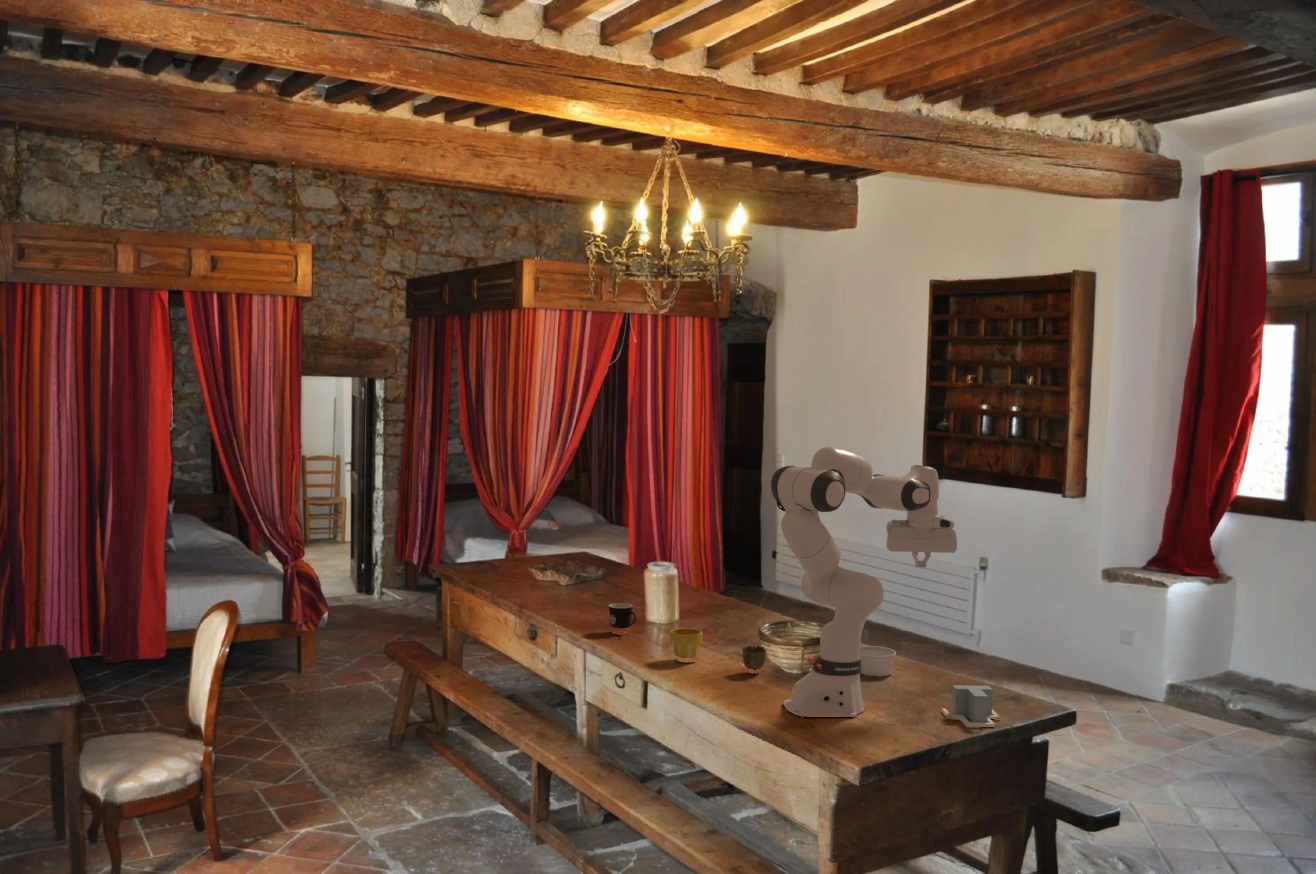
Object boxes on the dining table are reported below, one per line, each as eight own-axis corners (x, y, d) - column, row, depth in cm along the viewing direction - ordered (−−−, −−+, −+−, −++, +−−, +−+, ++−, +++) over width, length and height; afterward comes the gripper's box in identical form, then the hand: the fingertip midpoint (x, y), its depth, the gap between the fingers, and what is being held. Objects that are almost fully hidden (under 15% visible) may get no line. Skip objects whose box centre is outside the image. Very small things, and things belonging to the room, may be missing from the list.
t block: (961, 725, 287) (962, 695, 286) (951, 713, 297) (952, 685, 296) (999, 726, 287) (1000, 696, 286) (987, 714, 297) (988, 685, 296)
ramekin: (863, 679, 330) (864, 657, 330) (845, 668, 343) (845, 646, 342) (902, 677, 334) (903, 654, 333) (882, 666, 346) (883, 644, 346)
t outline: (954, 726, 285) (954, 723, 285) (941, 711, 298) (941, 708, 298) (1007, 728, 285) (1007, 724, 285) (992, 712, 298) (992, 709, 298)
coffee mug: (605, 631, 387) (605, 603, 386) (628, 630, 389) (629, 602, 389) (613, 638, 375) (614, 610, 375) (637, 637, 378) (638, 609, 378)
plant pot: (665, 658, 351) (666, 628, 350) (695, 656, 354) (696, 626, 353) (675, 666, 341) (676, 635, 340) (706, 664, 344) (707, 633, 344)
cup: (737, 671, 336) (738, 646, 336) (759, 669, 339) (759, 644, 338) (748, 677, 329) (748, 651, 329) (769, 675, 332) (770, 650, 331)
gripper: (889, 520, 313) (887, 567, 314) (959, 522, 313) (957, 569, 313) (884, 518, 319) (883, 564, 320) (953, 519, 319) (952, 566, 320)
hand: (920, 567), depth 317 cm, fingers closed
